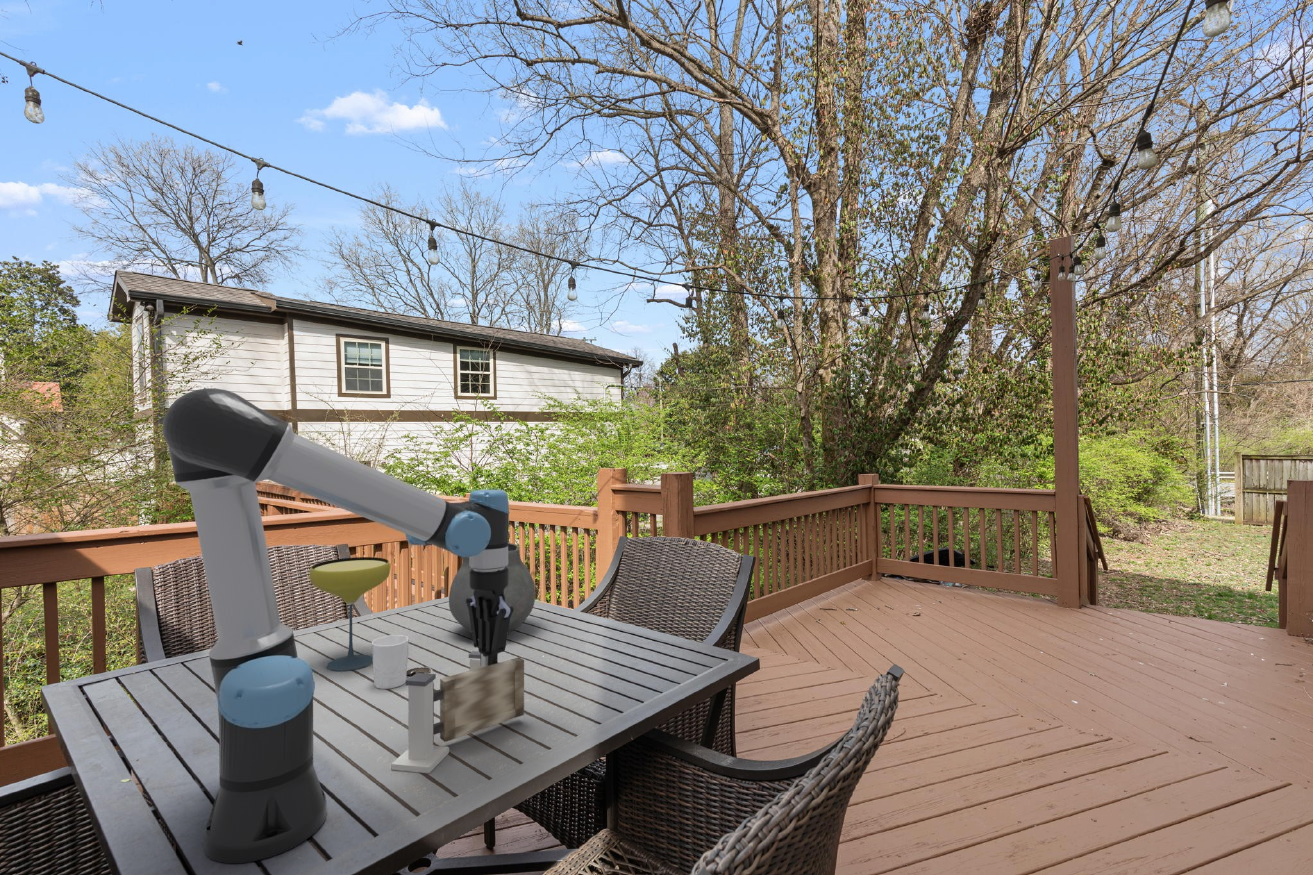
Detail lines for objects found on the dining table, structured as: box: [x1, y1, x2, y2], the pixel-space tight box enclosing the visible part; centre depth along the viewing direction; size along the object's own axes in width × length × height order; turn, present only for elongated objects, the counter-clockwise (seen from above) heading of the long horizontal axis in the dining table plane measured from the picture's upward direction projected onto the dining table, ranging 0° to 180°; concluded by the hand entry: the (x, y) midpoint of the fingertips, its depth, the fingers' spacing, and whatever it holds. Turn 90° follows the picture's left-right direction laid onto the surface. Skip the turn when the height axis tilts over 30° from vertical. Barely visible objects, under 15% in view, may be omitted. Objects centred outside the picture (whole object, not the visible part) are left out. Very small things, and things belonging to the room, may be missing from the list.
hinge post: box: [390, 672, 450, 774], centre depth 110 cm, size 7×7×15 cm
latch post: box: [468, 650, 481, 671], centre depth 134 cm, size 6×6×11 cm
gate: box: [433, 657, 525, 746], centre depth 119 cm, size 20×2×11 cm, turn 133°
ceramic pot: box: [448, 542, 536, 633], centre depth 182 cm, size 24×24×25 cm
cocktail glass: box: [309, 556, 391, 672], centre depth 157 cm, size 18×18×25 cm
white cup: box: [371, 634, 410, 690], centre depth 145 cm, size 8×8×10 cm
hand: (488, 685), depth 125 cm, fingers closed
